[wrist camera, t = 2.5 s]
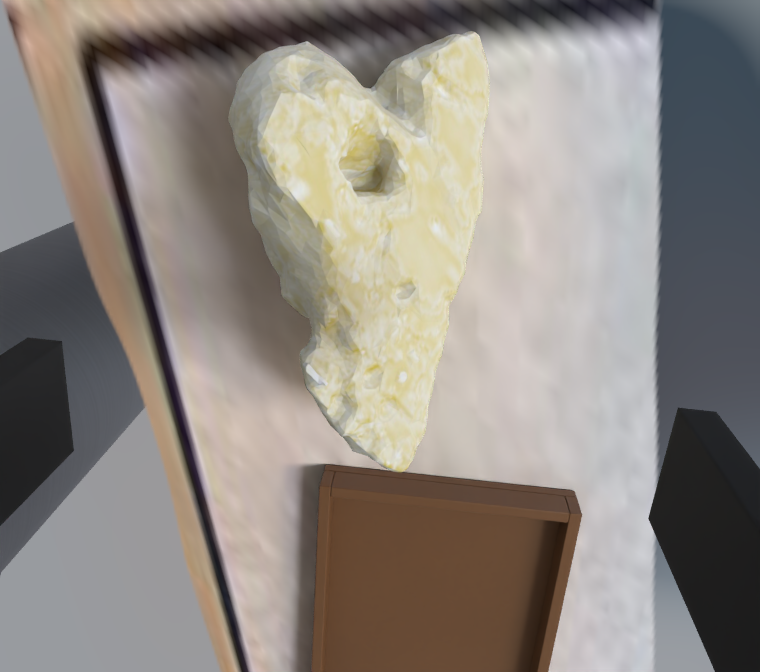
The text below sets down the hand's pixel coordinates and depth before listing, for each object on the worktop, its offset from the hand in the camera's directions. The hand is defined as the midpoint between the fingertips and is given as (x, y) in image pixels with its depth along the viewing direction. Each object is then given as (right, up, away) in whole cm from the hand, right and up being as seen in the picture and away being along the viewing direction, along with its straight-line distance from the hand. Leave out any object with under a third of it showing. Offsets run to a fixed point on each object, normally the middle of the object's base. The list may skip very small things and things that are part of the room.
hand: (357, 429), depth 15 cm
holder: (+3, -15, +25) cm, 30 cm away
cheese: (+1, +7, +17) cm, 19 cm away
